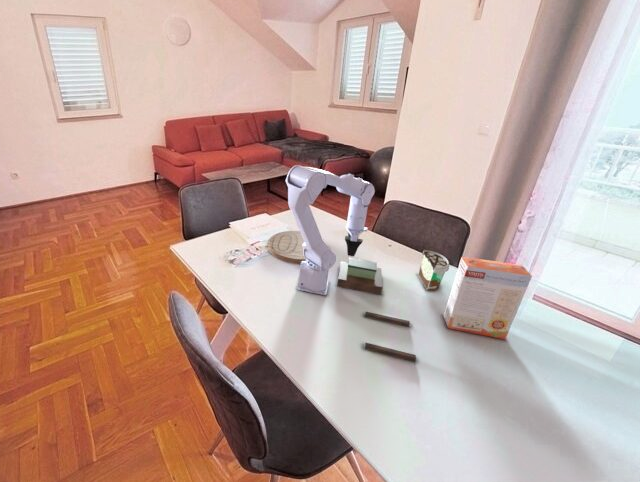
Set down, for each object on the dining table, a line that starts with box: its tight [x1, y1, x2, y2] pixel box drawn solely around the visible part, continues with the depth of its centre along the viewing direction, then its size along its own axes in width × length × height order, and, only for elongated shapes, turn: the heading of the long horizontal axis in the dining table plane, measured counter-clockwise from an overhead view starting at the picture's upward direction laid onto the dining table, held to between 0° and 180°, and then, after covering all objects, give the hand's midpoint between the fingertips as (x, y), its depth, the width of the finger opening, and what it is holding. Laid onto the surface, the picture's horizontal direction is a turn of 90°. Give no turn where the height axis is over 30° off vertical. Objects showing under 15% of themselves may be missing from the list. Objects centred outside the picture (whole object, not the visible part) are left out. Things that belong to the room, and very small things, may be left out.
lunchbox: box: [347, 257, 378, 280], centre depth 109 cm, size 9×5×4 cm, turn 70°
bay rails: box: [364, 311, 417, 362], centre depth 87 cm, size 12×14×1 cm
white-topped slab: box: [337, 260, 383, 295], centre depth 110 cm, size 14×12×3 cm
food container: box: [417, 249, 450, 291], centre depth 107 cm, size 12×6×10 cm, turn 168°
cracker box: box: [443, 256, 533, 340], centre depth 86 cm, size 14×6×21 cm, turn 71°
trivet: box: [267, 230, 329, 265], centre depth 132 cm, size 25×25×2 cm
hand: (351, 250), depth 111 cm, fingers open, 7 cm apart
